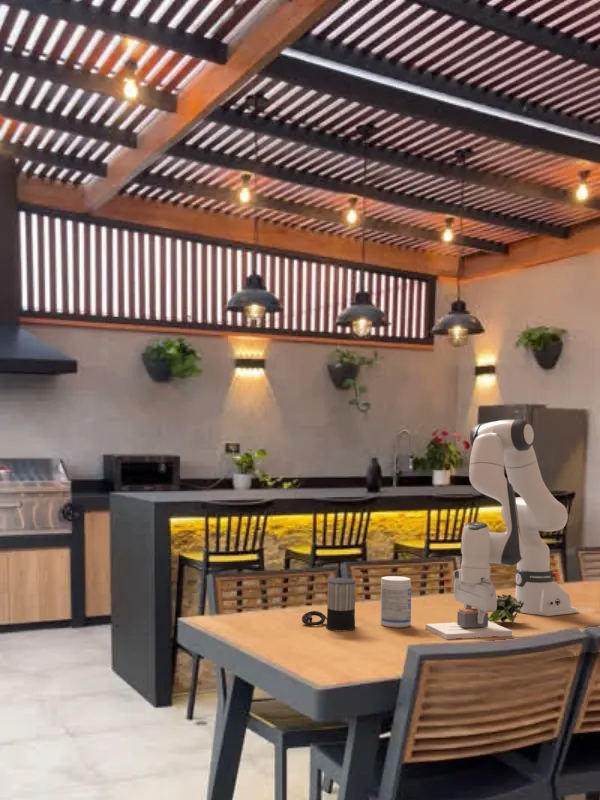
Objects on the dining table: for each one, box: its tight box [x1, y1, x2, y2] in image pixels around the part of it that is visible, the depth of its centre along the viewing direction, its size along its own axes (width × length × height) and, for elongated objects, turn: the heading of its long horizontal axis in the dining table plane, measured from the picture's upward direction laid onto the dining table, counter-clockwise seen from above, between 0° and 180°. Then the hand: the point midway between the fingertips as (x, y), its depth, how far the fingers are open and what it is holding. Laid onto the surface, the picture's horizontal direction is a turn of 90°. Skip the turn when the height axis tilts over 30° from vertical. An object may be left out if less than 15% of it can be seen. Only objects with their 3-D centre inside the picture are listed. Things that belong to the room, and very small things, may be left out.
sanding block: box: [456, 607, 489, 628], centre depth 257 cm, size 8×4×5 cm, turn 107°
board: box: [424, 621, 513, 640], centre depth 257 cm, size 22×14×2 cm, turn 107°
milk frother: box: [301, 577, 357, 632], centre depth 261 cm, size 14×16×15 cm
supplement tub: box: [380, 575, 412, 629], centre depth 265 cm, size 10×10×15 cm
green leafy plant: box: [487, 593, 524, 627], centre depth 270 cm, size 11×11×12 cm
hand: (474, 621), depth 257 cm, fingers closed on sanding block, 4 cm apart
